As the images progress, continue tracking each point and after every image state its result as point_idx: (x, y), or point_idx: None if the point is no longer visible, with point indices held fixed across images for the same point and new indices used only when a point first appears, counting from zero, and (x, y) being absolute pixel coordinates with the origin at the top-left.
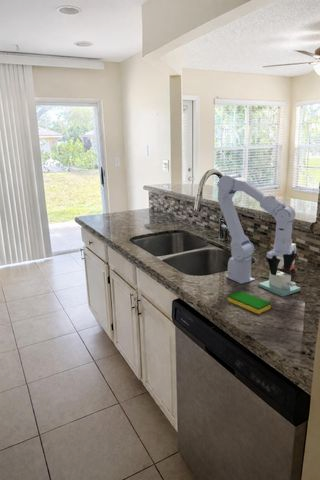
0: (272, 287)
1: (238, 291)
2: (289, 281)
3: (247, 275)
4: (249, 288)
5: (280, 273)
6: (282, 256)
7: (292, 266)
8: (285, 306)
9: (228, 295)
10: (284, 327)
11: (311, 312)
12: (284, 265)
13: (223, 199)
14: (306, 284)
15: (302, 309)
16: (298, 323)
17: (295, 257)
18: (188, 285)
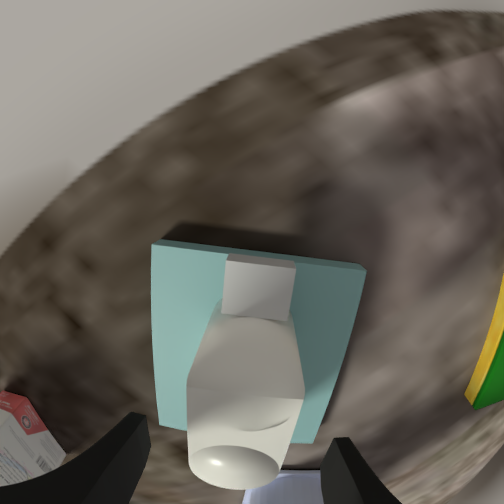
0: (315, 375)
1: (484, 405)
2: (253, 320)
3: (306, 498)
4: (371, 430)
5: (235, 438)
6: (18, 464)
7: (5, 400)
8: (465, 171)
9: None
10: None
11: (415, 30)
12: (135, 478)
13: None
14: (53, 267)
15: (427, 77)
16: None
17: (15, 492)
18: (448, 490)
